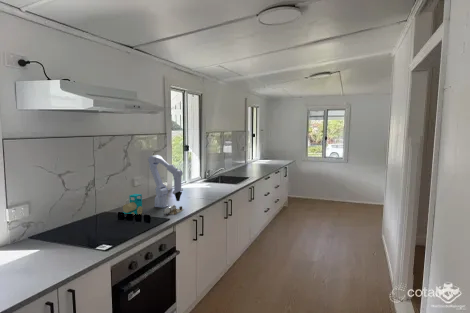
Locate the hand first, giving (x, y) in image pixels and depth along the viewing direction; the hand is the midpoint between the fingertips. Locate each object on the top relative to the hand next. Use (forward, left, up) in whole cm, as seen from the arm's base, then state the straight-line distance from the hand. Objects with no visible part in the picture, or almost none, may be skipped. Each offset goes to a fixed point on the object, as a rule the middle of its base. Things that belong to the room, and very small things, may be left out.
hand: (178, 200), depth 252 cm
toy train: (-24, -29, -7) cm, 38 cm away
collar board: (+1, -10, -6) cm, 12 cm away
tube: (-1, -15, -5) cm, 15 cm away
